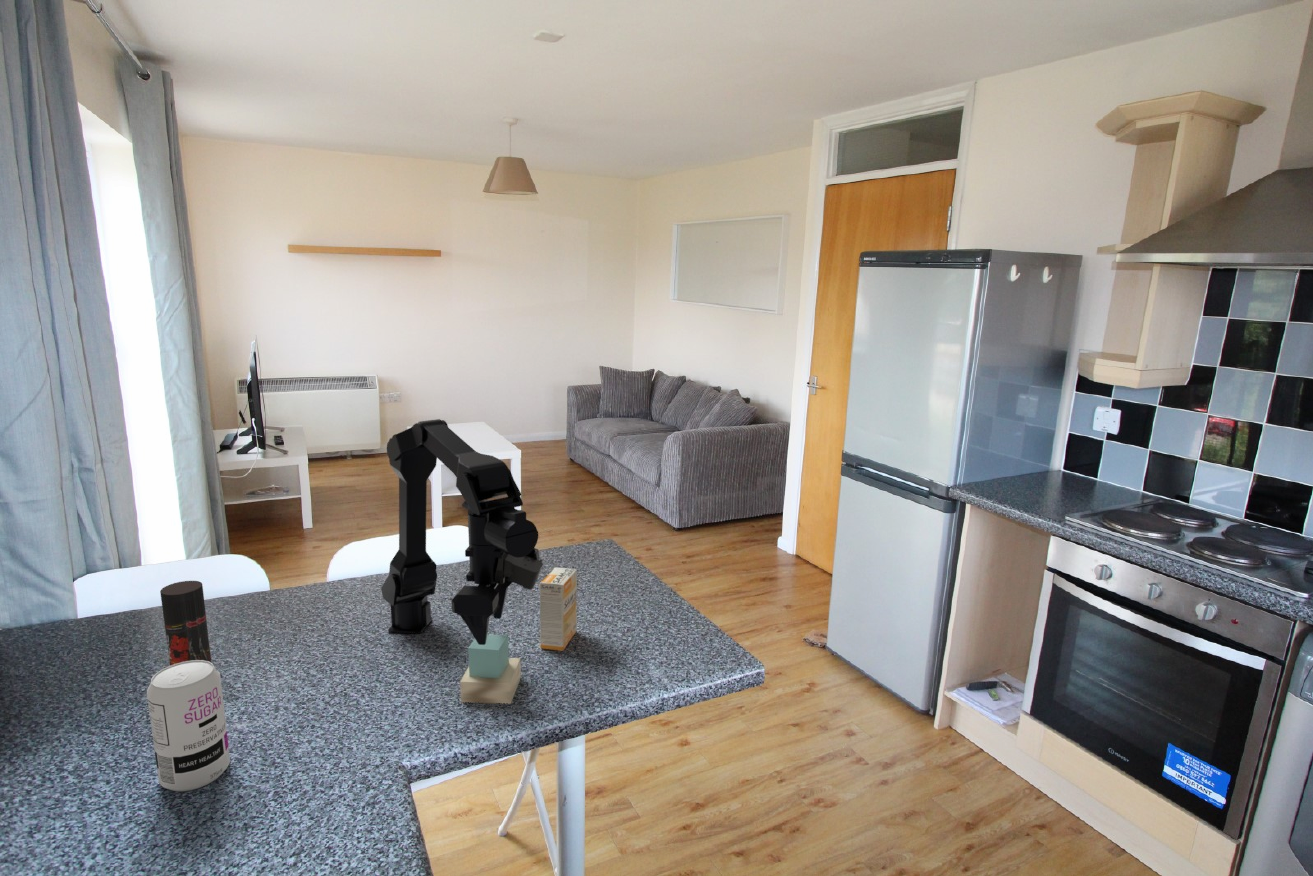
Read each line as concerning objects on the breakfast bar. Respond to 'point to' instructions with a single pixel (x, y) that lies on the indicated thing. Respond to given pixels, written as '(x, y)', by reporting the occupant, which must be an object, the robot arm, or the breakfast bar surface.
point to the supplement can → (188, 725)
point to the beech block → (492, 685)
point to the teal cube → (489, 657)
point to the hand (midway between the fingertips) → (490, 630)
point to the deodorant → (185, 622)
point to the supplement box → (558, 608)
